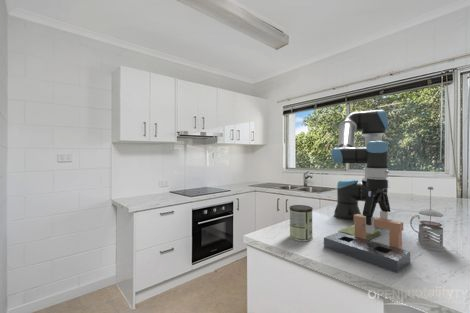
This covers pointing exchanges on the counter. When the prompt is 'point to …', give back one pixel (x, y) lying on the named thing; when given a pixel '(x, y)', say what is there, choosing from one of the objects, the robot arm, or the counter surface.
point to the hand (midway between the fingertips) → (377, 229)
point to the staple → (391, 225)
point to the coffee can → (301, 222)
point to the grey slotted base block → (368, 251)
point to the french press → (426, 240)
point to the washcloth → (351, 231)
